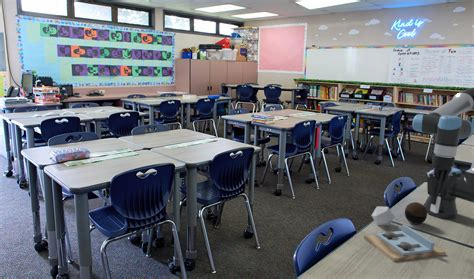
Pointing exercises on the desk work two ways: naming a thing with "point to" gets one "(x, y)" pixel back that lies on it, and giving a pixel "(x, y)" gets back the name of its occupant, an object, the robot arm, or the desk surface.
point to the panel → (409, 241)
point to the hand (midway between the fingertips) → (434, 211)
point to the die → (382, 216)
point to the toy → (415, 213)
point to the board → (405, 246)
